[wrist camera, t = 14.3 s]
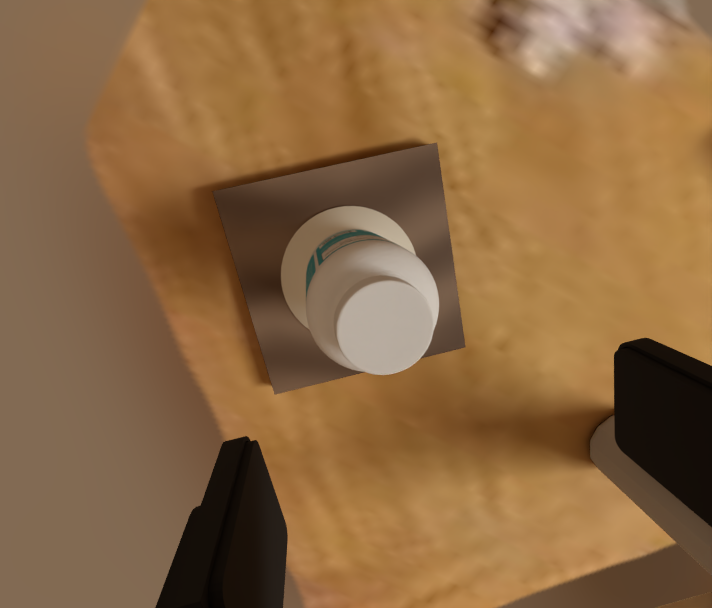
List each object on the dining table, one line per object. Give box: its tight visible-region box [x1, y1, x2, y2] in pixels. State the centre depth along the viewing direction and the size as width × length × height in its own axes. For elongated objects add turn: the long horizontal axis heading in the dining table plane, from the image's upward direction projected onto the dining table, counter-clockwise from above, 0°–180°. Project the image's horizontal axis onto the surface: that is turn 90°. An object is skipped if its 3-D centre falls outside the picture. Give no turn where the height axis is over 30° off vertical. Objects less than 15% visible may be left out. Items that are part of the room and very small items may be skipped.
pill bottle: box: [306, 229, 439, 375], centre depth 24 cm, size 8×7×14 cm
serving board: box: [212, 143, 465, 394], centre depth 32 cm, size 17×17×2 cm
